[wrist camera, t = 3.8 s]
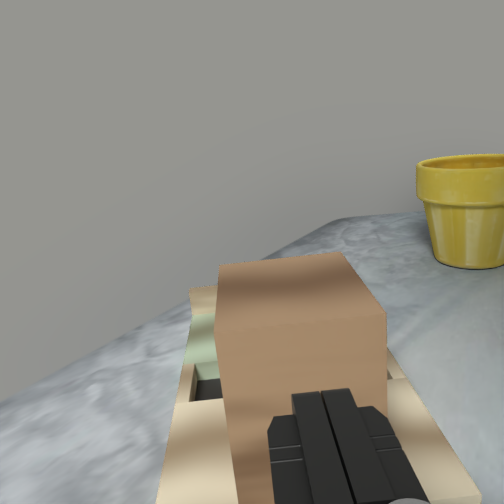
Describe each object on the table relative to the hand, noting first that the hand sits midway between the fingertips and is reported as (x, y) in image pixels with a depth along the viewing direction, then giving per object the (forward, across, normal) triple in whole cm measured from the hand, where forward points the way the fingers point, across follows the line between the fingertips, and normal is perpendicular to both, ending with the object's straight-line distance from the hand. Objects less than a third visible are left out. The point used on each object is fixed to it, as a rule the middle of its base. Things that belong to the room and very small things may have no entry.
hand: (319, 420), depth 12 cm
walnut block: (+8, 0, +7) cm, 11 cm away
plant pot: (+32, -21, +9) cm, 40 cm away
